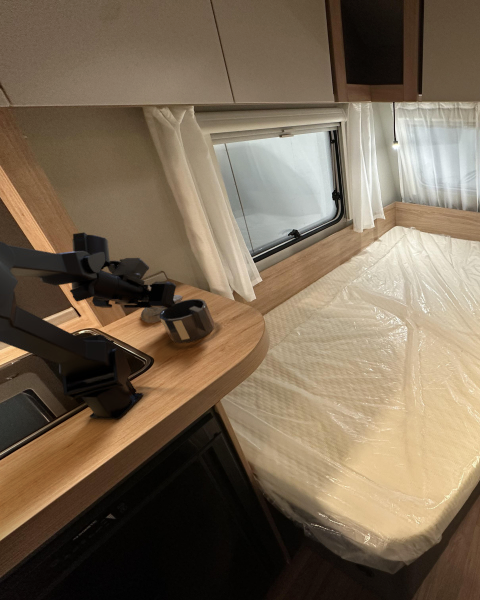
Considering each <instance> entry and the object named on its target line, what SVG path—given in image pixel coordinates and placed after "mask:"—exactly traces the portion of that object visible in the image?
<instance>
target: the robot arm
mask: <svg viewBox="0 0 480 600" xmlns="http://www.w3.org/2000/svg"><path fill="white" fill-rule="evenodd" d="M71 241H72V242H71V243H72V251H66V252H50V251H49V252H48V251H45V250H44V251H43V250H38V249H33V248H27V247H22V246H16V245H11V244H7V243H5V242H4V241H1V240H0V343H3V344H6V345H7V346H11V347H13V348H16V349H19V350H22V351H24V352H25V353H26V352H27V353H30V354H32V355H34V356H38V357H39V358H42V359H46V360H48V361H51V362H52V363H56V364H58V372H59V374H60V375H62V388H63V389H62V390H63V395H64V396H65V398H67V399H69V400H75V399H76V398H77V399H78V398H81V399H82V400H83V401H84V403H85V404H86V405H87V406H88V407H89V409H90V410H91V411H92V413H91V414H90V415H89V418H90V419H93V420H94V419H95V420H119V419H121V418H122V417H124V416H125V414H127V412H128V411H129V410H130V409H131V408H132V407H133V406H135V404H137V402H138V401H140V400H141V399H142V398H143V397H144V393H143V392H137V389H136V387H135V386H134V385H133V383H132V381H131V380H130V379H129V377H130V375H131V372H132V370H131V367H130V365H129V361H128V359H127V357H126V354H125V351H124V350H123V349H122V348H121V347H120V346H118V345H117V344H115V341H114V339H113V340H111V339H109V338H108V337H106V336H105V335H103V334H94V335H89V336H85V337H79V336H77V335H74V334H73V333H71V332H69V331H66V330H65V329H63V328H61V327H59V326H57V325H55V324H53V323H51V322H50V321H47V320H45V319H43V318H41V317H40V316H38V315H35V314H34V313H32V312H30V311H27V310H26V309H24V308H23V307H22V308H21V307H20V306H19V305H17V298H16V292H15V289H16V287H17V285H18V283H19V281H18V279H17V278H16V276H20V277H21V276H22V277H33V278H34V277H35V278H39V279H40V282H42V283H45V284H48V285H52V286H57V287H58V286H62V285H63V286H64V285H69V284H71V289H70V290H69V292H70V293H71V294H72V298H73V299H74V301H75V302H77V303H78V302H81V301H85V300H87V299H91V298H92V299H91V302H92V304H93V305H94V307H98V308H101V309H111V308H113V304H111V303H110V302H111V301H112V302H114V304H115V305H117V306H120V305H121V306H123V308H125V309H136V308H137V309H138V308H139V309H144V308H151V307H158V308H170V307H171V306H172V303H173V298H174V295H175V293H176V288H177V285H176V284H175V283H174V282H171V281H169V280H168V281H166V280H165V281H163V280H162V281H154V282H152V283H151V284H145V282H146V280H145V279H144V280H143V278H144V276H145V275H146V273H147V271H149V269H150V266H149V265H148V263H146V262H144V260H142V259H141V258H140V257H125V258H120V259H119V260H110V259H111V258H110V248H109V240H108V239H107V238H105V237H102V236H99V235H95V234H88V233H86V232H77V233H72V240H71ZM105 268H107V269H108V271H105V270H104V269H105Z"/></svg>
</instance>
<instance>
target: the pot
mask: <svg viewBox="0 0 480 600" xmlns="http://www.w3.org/2000/svg"><path fill="white" fill-rule="evenodd" d="M159 317H160V320H161V321H160V322H161V323H162V326H163V327H164V329H165V332H166V333H167V335H168V337H169V339H170V340H171V341H172V342H174V343H176V344H185V343H191V342H195V341H198V340H200V339H203V338H204V337H206V336H208V335H209V334H210V333H211V332H212V331H213V330H214V329H215V326H216V324H215V321H214V318H213V317H212V314H211V312H210V308H209V307H208V304H207V302H206V300H204V299H202V298H190V299H184V300H181V301H180V302H177V303H175V302H174V300H173V303H172V306H171V307H170V308H165V309H164V310H162V311H161V313H160V314H159Z"/></svg>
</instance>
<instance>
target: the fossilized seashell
mask: <svg viewBox="0 0 480 600" xmlns="http://www.w3.org/2000/svg"><path fill="white" fill-rule="evenodd" d="M183 298H184V297H183V296H182V295H180V294H174V298H173V300H174V302H175V303H177V302H180V301H183ZM164 309H165V308H158V307H151V308H143V309H142V311H141V313H140V319H141V320H142V322H145V323H147V324H152V323H158V322H161V320H160V317H159V314H160V313H161V311H162V310H164Z"/></svg>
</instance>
